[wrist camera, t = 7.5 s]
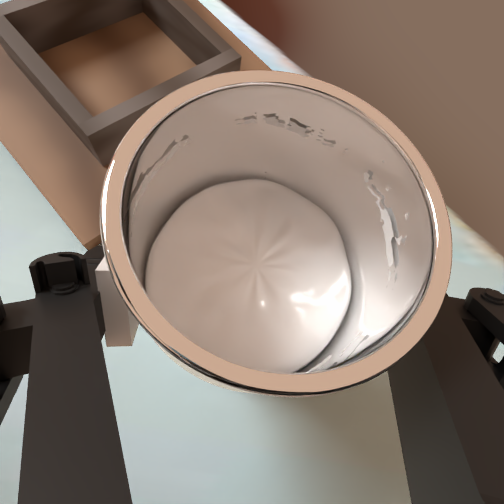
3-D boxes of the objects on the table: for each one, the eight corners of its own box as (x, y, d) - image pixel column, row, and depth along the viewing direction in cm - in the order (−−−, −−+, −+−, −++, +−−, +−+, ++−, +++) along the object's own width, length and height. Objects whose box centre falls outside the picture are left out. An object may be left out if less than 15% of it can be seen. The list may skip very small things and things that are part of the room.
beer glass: (303, 314, 20) (519, 206, 6) (231, 403, 18) (325, 537, 4) (226, 244, 21) (268, 16, 7) (147, 320, 19) (-13, 195, 5)
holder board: (88, 251, 20) (62, 224, 16) (-68, 53, 23) (-120, -7, 19) (302, 111, 26) (318, 69, 23) (157, -27, 30) (151, -83, 26)
